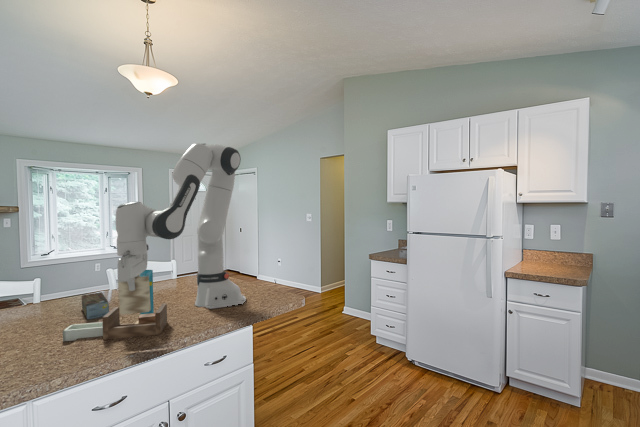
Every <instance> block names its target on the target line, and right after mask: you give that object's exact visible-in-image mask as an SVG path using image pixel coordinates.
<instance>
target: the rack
mask: <svg viewBox="0 0 640 427" xmlns="http://www.w3.org/2000/svg"><path fill="white" fill-rule="evenodd" d="M154 313H155V320H156V323H155V324H143V325H134V324H135V323H136V322H134V323H133V322H131V323H121V322H120V321H121V320H120V306H114V307H113V308H112V309H110V310H109V312H108V313H107V314H106V315H105V316H103V317H101V318H102V322H103V336H102V340H111V339H123V338H124V339H125V338H132V337H133V338H134V337H144V336H156V335H162V332H163V331H164V329H165V327H166V326H167V325H168V303H167V302H166V303H164V302H163V303H162V304H161V305H160V306H159V308H158V309H157V310H156V312H154Z"/></svg>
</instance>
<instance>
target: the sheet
mask: <svg viewBox="0 0 640 427" xmlns="http://www.w3.org/2000/svg"><path fill="white" fill-rule="evenodd" d="M135 284H136V289H135V290H134V291H129V285H128V283H127V282H119V281H118V280H117V285H118V286H117V287H118V301H119V302H118V303H119V304H118V305H119V306H118V307H119V315H121V316H122V315H132V314H140V313H143V312H149V311H150V310H151V304H150V286H149V276H143V277H135Z"/></svg>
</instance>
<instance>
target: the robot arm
mask: <svg viewBox="0 0 640 427" xmlns="http://www.w3.org/2000/svg"><path fill="white" fill-rule="evenodd" d="M241 161H242V160H241V154H240V152H239V151H238V150H237V149H236V148H234V147H232V146H226V145H221V144H209V143H199V142H196V143H193V144H191V146H190V147H189V148H187V149H186V151H185V152H184V153H183V154H182V156H181V157H180V158H179V159H178V161H177V163H176V164H175V166H174V168H173V170H172V173H171V174H172V180H174V182H175V184H176V185H178V190H177V192H176V193H175V196H174V198H173V200H172V202H171V203H170V204H169V206H168V207H166V208H165V209H164V210H157V209H155V208H152V207H149V206H147V205H145V204H143V203H142V202H141V201H132V202H131V201H130V202H125V203H122V204H120V205H119V206H117V207H116V210H115V232H116V233H117V238H116V254H117V256H118V257H119V258H118V261H117V282H118V281H119V282H127V283H128V285H129V291H134V290H135V289H136V284H135V277H140V274H141V273H142V272H144V271H145V270H148V269H147V268H148V251H149V250H150V248H149V244H148V243H147V237H154V238H161V239H164V240H175V239H177V238H178V237H179V236H181V234H182V233H183V232H184V229H185V226H186V219H187V216H188V213H189V211H190V210H191V206H192V205H193V203H194V201H195V199H196V197H197V195H198V193H199V190H200V187H201V183H202V180H203V179H204V177H205V176H206V174H207V172H208V170H211V175H210V178H209V181H208V185H207V188H206V192H205V195H204V200H203V201H204V202H203V205H202V209H201V212H200V217H199V220H198V225H197V229H196V234H197V274H196V284H197V285H196V286H197V290H196V291H197V293H196V298H195V302H194V306H196V307H198V308H206V309H208V310H214V309H219V308H226V307H227V306H228V307H233V306H232V305H235V306H239V305H238V304H242V305H243V303H244V302H245V301H246V302H247V298H246V296H245V295H244V294H242V292H241V288H240V286H239V285H237V284H236V283H234V282H233V281H232V280H230V279H229V277H230V275H229V272H227V271H225V270H224V244H223V235H224V232H225V227H226V224H227V219H228V218H227V217H228V212H229V207H230V204H231V199H232V196H233V192H234V185H235V180H236V179H235V177H236V176H235V172H236V171H237V170H238V168H239V167H240V165H241ZM246 302H245V303H246ZM245 303H244V304H245Z"/></svg>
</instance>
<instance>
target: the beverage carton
mask: <svg viewBox="0 0 640 427" xmlns="http://www.w3.org/2000/svg"><path fill="white" fill-rule="evenodd" d="M109 304H110V303H109V301H108V300H107V297H106V296H105V294H104V293H103V292H102V291H101V292H96V293H89V294H82V295H81V307H82V308H81V309H82V311H83V313H84V316H85V319H86V320H93V319H99V318H102V317H103V316H105V315H106V314H107V313H108V312H109V311H110V306H109Z"/></svg>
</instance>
